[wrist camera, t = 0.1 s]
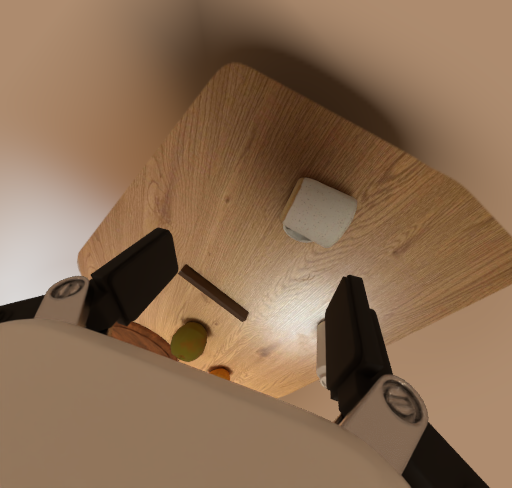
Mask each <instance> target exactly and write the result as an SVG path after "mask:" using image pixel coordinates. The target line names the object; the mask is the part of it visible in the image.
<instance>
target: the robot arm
mask: <svg viewBox="0 0 512 488" xmlns="http://www.w3.org/2000/svg"><path fill="white" fill-rule="evenodd" d="M177 272H178V264H177V258H176V253H175V248H174V242H173V237H172V234H171V233H170V231H169V230H166V229H162V228H156V229H155V230H153V231H152V232H150V233H149V234H147V235H146V236H145V237H143V238H142V239H140V240H139V241H138V242H136V243H135V244H133V245H132V246H130V247H129V248H128V249H126V250H125V251H123V252H122V253H121V254H119V255H118V256H116V257H115V258H113V259H112V260H111V261H109V262H108V263H106V264H105V265H104V266H102V267H101V268H99V269H98V270H96V271H95V272H94V273H92V274H91V277H92V279H91V280H90V281H89V280H88V278H86V277H84V276H74V277H70V278H66V279H63V280H61V281H59V282H57V283H56V284H54V285H53V286H52V287H50V288H49V290H48V291H47V292H46V294H45V295H42V296H39V297H35V298H31V299H26V300H22V301H18V302H14V303H10V304H6V305H3V306H0V488H489V486H488V485H487V484H486V483H485V482H484V481H483V480H482V479H481V478H480V477H479V476H478V475H477V474H476V473H475V472H474V471H473V469H472V468H471V467H470V466H469V465H468V464H467V463H466V462H465V461H464V460H463V459H462V458H461V457H460V455H459V454H458V453H457V452H456V451H455V450H454V449H453V448H452V447H451V446H450V445H449V444H448V443H447V442H446V440H445V439H444V438H443V437H442V436H441V435H440V434H439V433H438V432H437V431H436V430H435V429H434V428H433V426H432V425H430V423H429V422H428V412H427V409H426V406H425V404H424V401H423V400H422V398H421V397H420V395H419V394H418V393H417V391H416V390H415V389H414V388H413V387H412V386H411V385H410V384H409V383H407V382H406V381H405V380H403V379H401V378H399V377H397V376H395V375H393V373H392V369H391V366H390V362H389V358H388V355H387V351H386V347H385V344H384V340H383V337H382V333H381V329H380V326H379V322H378V318H377V315H376V312H375V311H374V310H373V309H370V308H369V304H368V300H367V296H366V292H365V288H364V284H363V280H362V278H360V277H356V276H352V275H348V276H347V277H343V278H342V280H341V282H340V284H339V286H338V287H337V289H336V291H335V293H334V295H333V297H332V299H331V301H330V303H329V305H328V307H327V309H326V312H325V347H326V387H327V389H328V390H330V391H331V399H333V400H336V401H338V404H339V411H340V412H341V413H340V415H339V416H338V417H337V418H336V419H335V420H334V422H331V421H329V420H327V419H325V418H323V417H320V416H318V415H316V414H314V413H312V412H309V411H307V410H304V409H302V408H299V407H296V406H294V405H291V404H289V403H286V402H284V401H281V400H279V399H276V398H274V397H271V396H269V395H266V394H263V393H261V392H258V391H255V390H253V389H250V388H247V387H245V386H242V385H239V384H237V383H234V382H231V381H229V380H226V379H223V378H221V377H218V376H215V375H213V374H210V373H207V372H205V371H202V370H199V369H197V368H194V367H191V366H188V365H186V364H183V363H180V362H178V361H175V360H172V359H170V358H167V357H164V356H161V355H159V354H156V353H153V352H151V351H148V350H145V349H142V348H140V347H137V346H134V345H131V344H129V343H126V342H123V341H120V340H118V339H115V338H112V331H113V325H114V324H115V323H116V322H117V323H118V324H121V325H124V326H128V325H129V324H130V323H131V322H132V321H134V320H136V319H137V318H138V317H139V316H140V314H141V313H142V312H143V311H144V310H145V309H146V308H147V307H148V305H149V304H150V303H151V302H152V301H153V300H154V299H155V298H156V296H157V295H158V294H159V293H160V292H161V291H162V290H163V289H164V287H165V286H166V285H167V284H168V283H169V282H170V281H171V280H172V278H173V277H174V276H175V275H176V274H177Z"/></svg>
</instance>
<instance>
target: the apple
mask: <svg viewBox="0 0 512 488" xmlns="http://www.w3.org/2000/svg"><path fill="white" fill-rule="evenodd" d="M206 343H207V332H206V330H205V329H204V327H203V326H202V325H201V324H199V323H196V322H188V323H186V324H185V325H183V326H182V327H180V328H179V329H178V330H177V332H176V333H175V334H174V335H173V337H172V341H171V345H170V348H171V353H172V354H173V355H174V356H175V357H177V358H178V359H180V360H183V361H186V362H190V361H193V360H195V359H197V358H198V357H199V356H200V355H202V353H203V351H204V349H205V346H206ZM178 361H179V360H178Z"/></svg>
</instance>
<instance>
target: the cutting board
mask: <svg viewBox="0 0 512 488" xmlns="http://www.w3.org/2000/svg"><path fill="white" fill-rule="evenodd" d="M112 338H115V339H118V340H120V341H123V342H126V343H129V344H131V345H134V346H137V347H140V348H142V349H145V350H148V351H151V352H153V353H156V354H159V355H161V356H164V357H167V358H170V359H172V360H175V361H177V359H178V358H177V357H175V356H174V355H173V354H172V353H171V348H170V345H169V344H168V343H167V342H166V341H165V340H164V339H163V338H161V337H160V336H159V335H157V334H156V333H154V332H153V331H151V330H149V329H147V328H146V327H144V326H142V325H139V324H137V323H134V322H131V323H130V324H129V325H128V326H124V325H121V324H118V323H117V322H116V323H115V324H114V325H113V331H112Z"/></svg>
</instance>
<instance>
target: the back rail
mask: <svg viewBox="0 0 512 488" xmlns="http://www.w3.org/2000/svg"><path fill="white" fill-rule="evenodd" d="M178 274H179V275H180V276H182V277H183V278H184V279H186V280H187V281H188V282H190V283H191V284H192V285H194V286H195V287H196V288H198V289H199V290H200V291H202V292H203V293H204V294H206V295H207V296H208V297H210V298H211V299H212V300H214V301H215V302H216V303H218V304H219V305H220V306H222V307H223V308H224V309H226V310H227V311H228V312H230V313H231V314H232V315H234V316H235V317H236V318H238V319H239V320H240V321H242V322H243V321H245V320H246V318H247V316H248V313H249V312H248V311H246V310H245V309H244V308H243V307H241V306H240V305H239V304H237V303H236V302H235V301H233V300H232V299H231V298H229V297H228V296H227V295H226V294H224V293H223V292H222V291H220V290H219V289H218V288H216V287H215V286H214V285H213V284H211V283H210V282H209V281H207V280H206V279H205V278H203V277H202V276H201V275H200V274H198V273H197V272H196V271H194V270H193V269H192V268H190V267H189V266H188V265H187V264H186V265H185V266H184V267H183V268H182V269H181V271H180V272H179V273H178Z"/></svg>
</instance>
